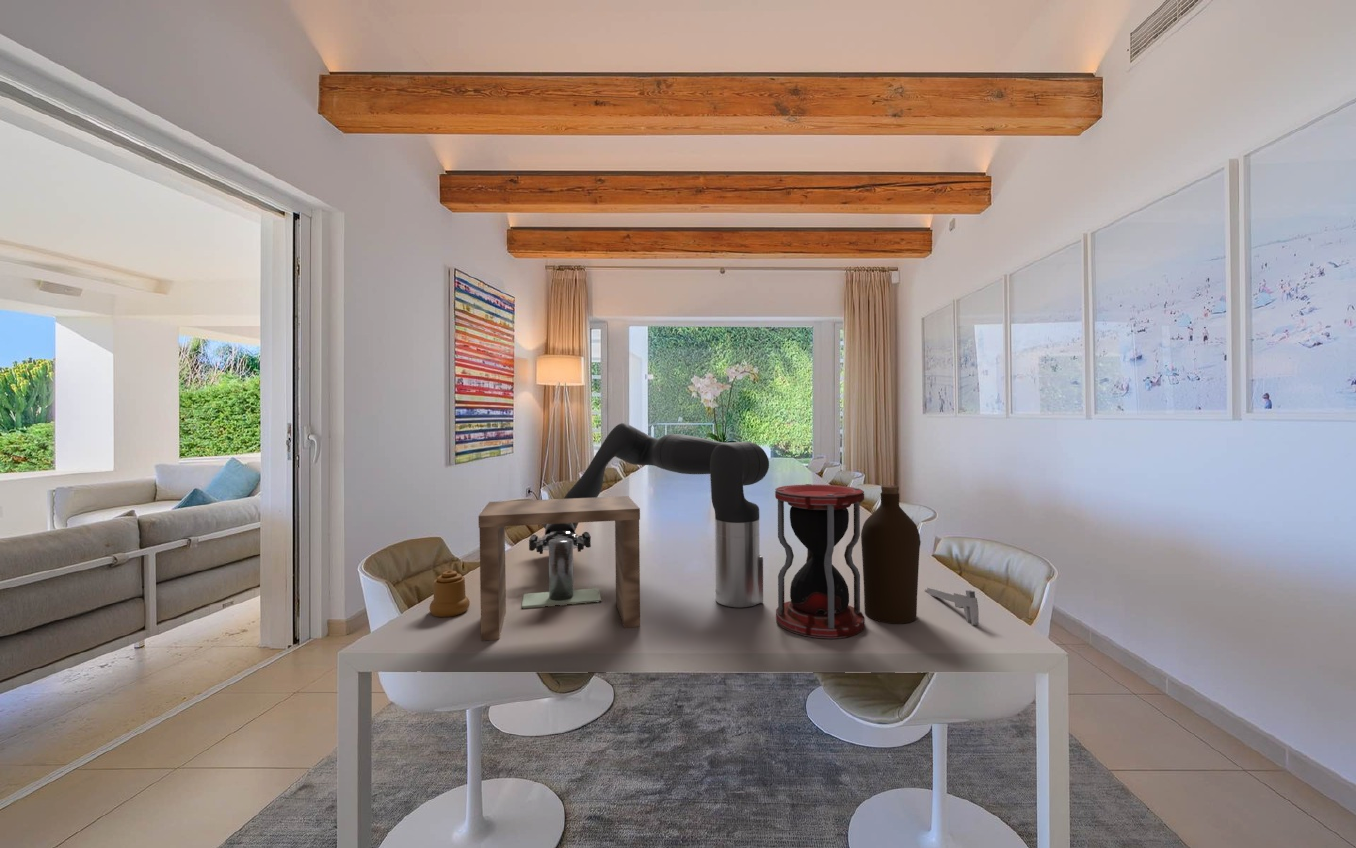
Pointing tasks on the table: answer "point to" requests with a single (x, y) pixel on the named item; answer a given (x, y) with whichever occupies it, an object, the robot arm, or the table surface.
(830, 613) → the hourglass
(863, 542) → the olive oil
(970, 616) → the caliper
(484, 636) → the shelf
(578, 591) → the mat
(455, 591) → the ornamental finial
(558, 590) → the canister
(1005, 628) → the table surface
